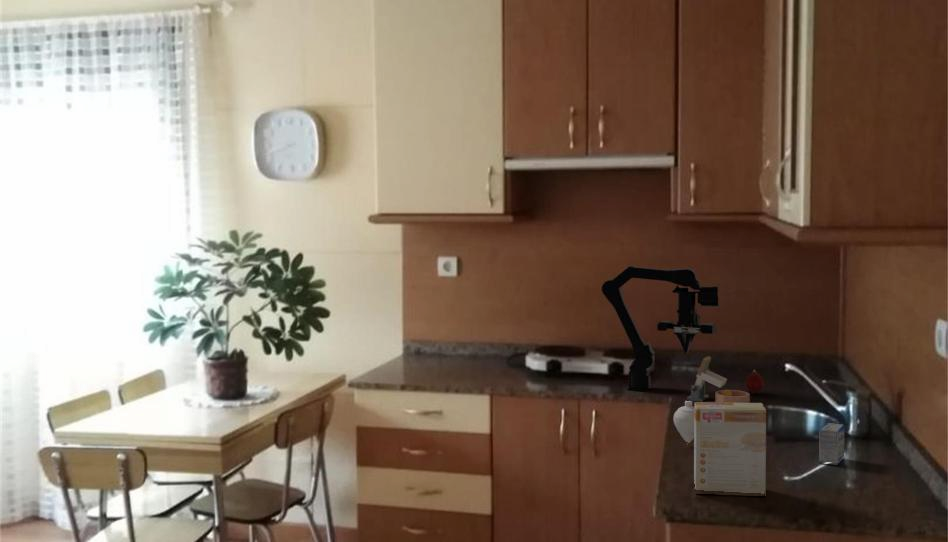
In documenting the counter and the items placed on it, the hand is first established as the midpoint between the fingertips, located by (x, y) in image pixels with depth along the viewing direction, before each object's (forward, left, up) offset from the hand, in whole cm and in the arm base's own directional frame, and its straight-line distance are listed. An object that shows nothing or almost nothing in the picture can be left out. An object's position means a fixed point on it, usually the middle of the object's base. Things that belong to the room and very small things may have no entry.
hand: (686, 352), depth 310 cm
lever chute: (+10, -10, -10) cm, 17 cm away
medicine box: (+56, -63, -13) cm, 85 cm away
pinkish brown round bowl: (+18, -10, -13) cm, 24 cm away
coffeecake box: (+40, -98, -13) cm, 107 cm away
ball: (+16, -10, -11) cm, 22 cm away
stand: (+7, -10, -13) cm, 18 cm away
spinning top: (+21, -66, -13) cm, 71 cm away
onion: (+21, +6, -13) cm, 26 cm away
